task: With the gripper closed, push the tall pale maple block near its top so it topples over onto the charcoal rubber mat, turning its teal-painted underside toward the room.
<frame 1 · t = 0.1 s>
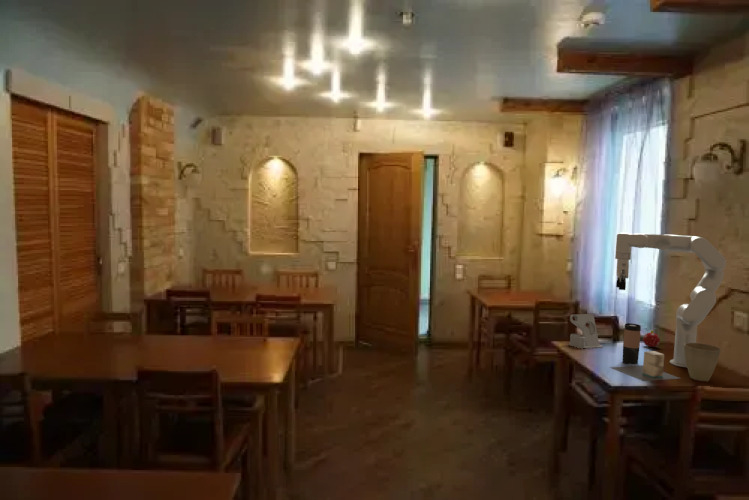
hand: (620, 288, 297), 37 cm above the table, tool pointing down, fingers open, 9 cm apart
rubber mat: (644, 373, 270), on the table
travel mug: (629, 363, 290), on the table
plant pot: (699, 380, 264), on the table
phone holder: (585, 346, 324), on the table
maple block: (652, 375, 265), point 1 cm above the table, touching rubber mat
christmas ornament: (650, 347, 328), on the table
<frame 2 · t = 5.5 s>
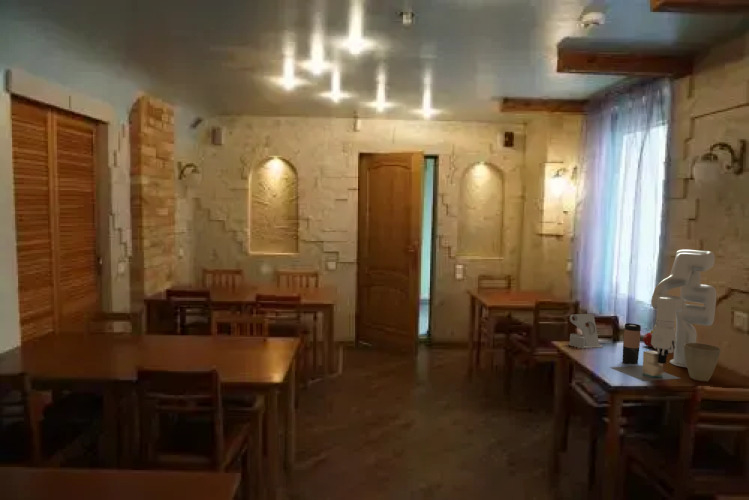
hand: (662, 362, 260), 8 cm above the table, tool pointing down, fingers closed
maple block: (652, 375, 265), point 1 cm above the table, touching gripper, rubber mat
everything else where it was.
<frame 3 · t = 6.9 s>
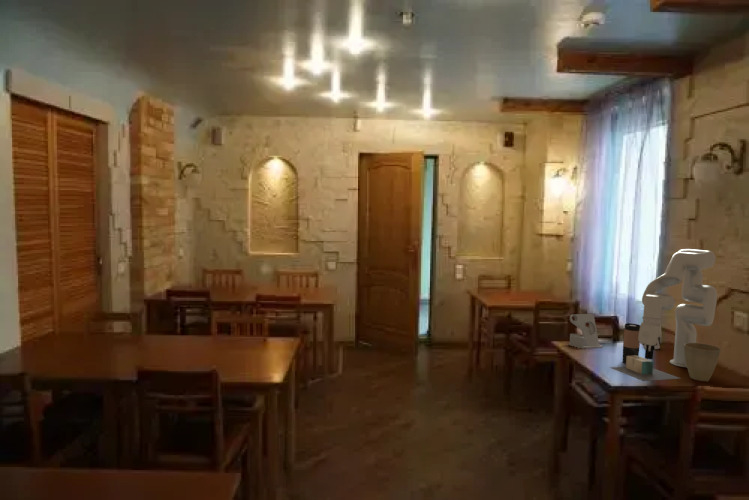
hand: (648, 358, 268), 8 cm above the table, tool pointing down, fingers closed
maple block: (648, 367, 268), point 4 cm above the table, tilted 90°, touching rubber mat
everything else where it was.
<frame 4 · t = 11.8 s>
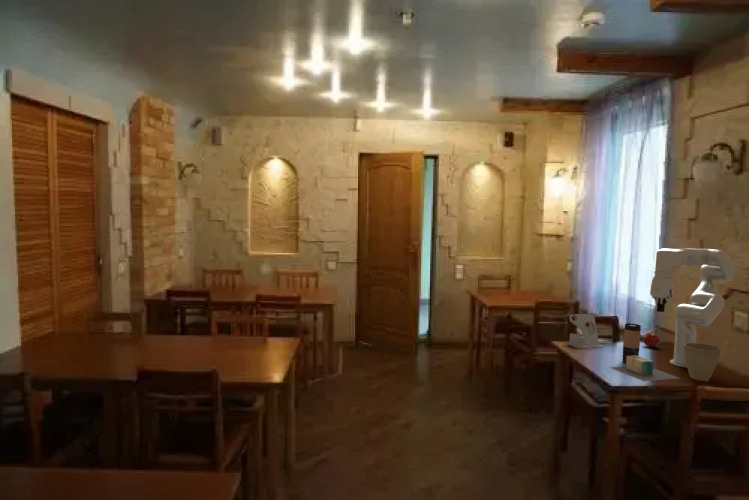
hand: (660, 311, 278), 29 cm above the table, tool pointing down, fingers closed
nothing on the table moved.
at the end: maple block tilted 90°; maple block inside the target area on the rubber mat (0.5 cm from its centre), point 3.6 cm above the rubber mat's base; maple block touching rubber mat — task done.
